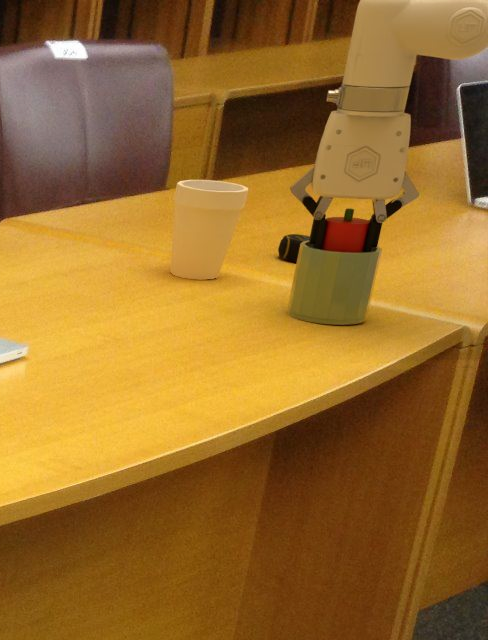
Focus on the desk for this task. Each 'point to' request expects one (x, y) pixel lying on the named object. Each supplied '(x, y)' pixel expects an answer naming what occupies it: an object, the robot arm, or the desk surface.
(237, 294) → the desk surface
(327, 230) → the pepper
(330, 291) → the ceramic cup
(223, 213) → the foam cup
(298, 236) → the tape measure
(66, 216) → the desk surface
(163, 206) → the desk surface
